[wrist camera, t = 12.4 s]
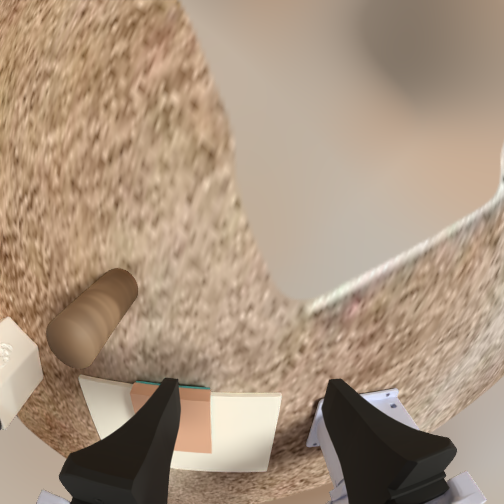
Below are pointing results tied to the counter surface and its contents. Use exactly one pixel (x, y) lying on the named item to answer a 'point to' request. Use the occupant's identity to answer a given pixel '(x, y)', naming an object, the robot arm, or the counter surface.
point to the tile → (184, 415)
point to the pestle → (91, 319)
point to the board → (222, 419)
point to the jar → (16, 370)
